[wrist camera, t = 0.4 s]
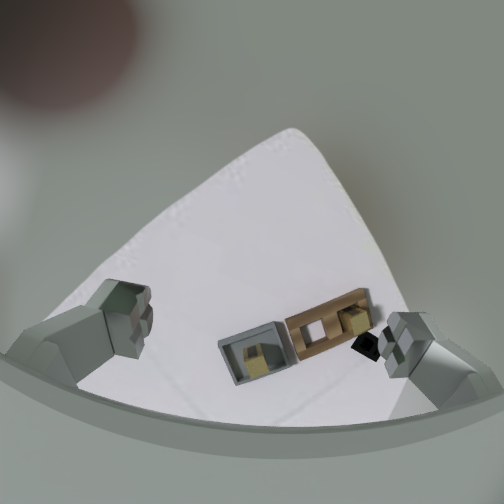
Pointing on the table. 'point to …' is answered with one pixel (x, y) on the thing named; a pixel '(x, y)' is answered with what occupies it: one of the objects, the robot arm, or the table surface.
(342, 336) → the pallet
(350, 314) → the block
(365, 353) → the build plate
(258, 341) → the shallow grey tray
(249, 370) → the block
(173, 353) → the table surface
